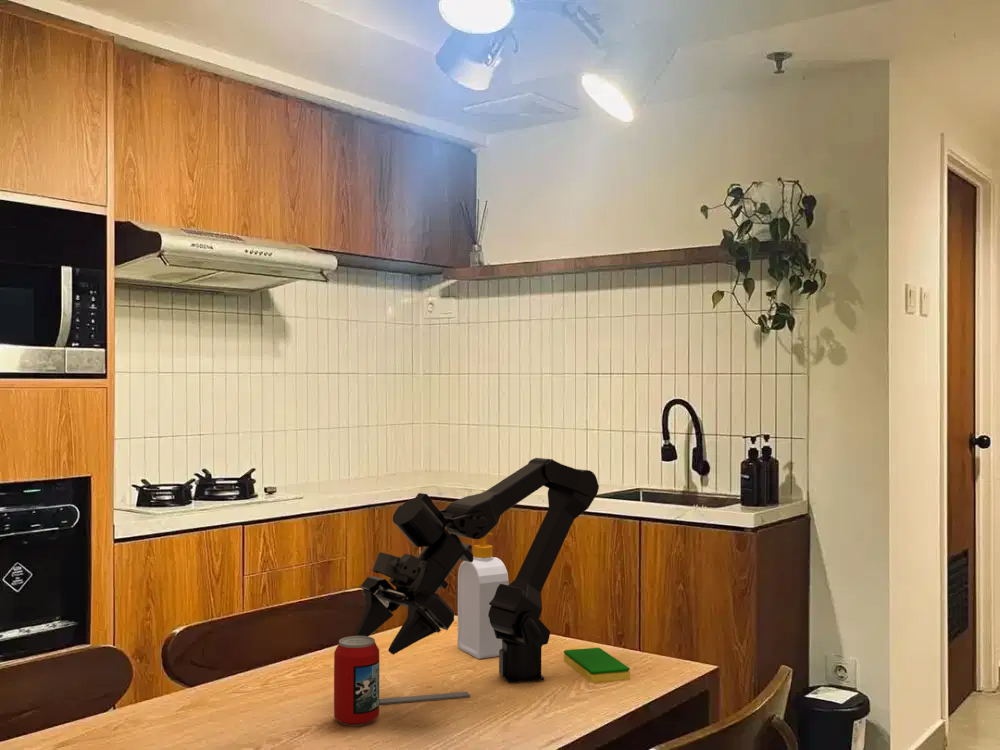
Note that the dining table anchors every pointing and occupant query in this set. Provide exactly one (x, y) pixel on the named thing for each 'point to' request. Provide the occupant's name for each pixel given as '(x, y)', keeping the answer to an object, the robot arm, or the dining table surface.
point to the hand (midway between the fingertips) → (373, 646)
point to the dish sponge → (596, 665)
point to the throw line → (423, 698)
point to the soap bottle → (479, 601)
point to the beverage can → (356, 680)
